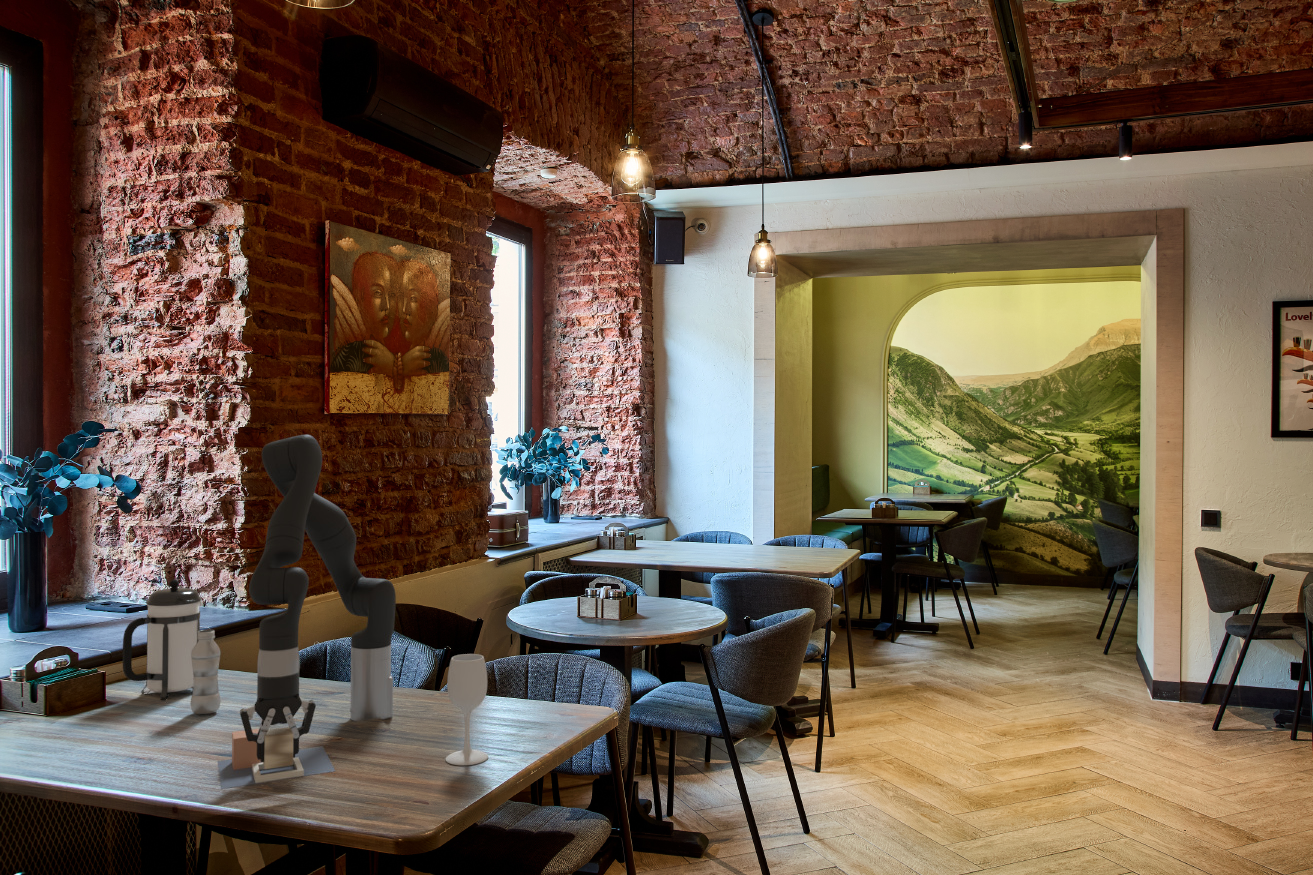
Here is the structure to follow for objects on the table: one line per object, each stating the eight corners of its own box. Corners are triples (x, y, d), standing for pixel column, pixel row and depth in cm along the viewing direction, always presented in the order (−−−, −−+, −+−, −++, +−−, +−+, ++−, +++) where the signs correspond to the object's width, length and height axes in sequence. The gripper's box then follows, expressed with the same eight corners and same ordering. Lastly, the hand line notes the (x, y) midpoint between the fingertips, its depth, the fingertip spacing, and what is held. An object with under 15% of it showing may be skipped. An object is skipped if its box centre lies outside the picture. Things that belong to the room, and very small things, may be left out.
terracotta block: (259, 758, 183) (259, 728, 183) (261, 765, 179) (261, 735, 179) (231, 762, 181) (232, 731, 181) (233, 769, 176) (233, 738, 176)
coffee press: (151, 686, 245) (152, 576, 246) (213, 685, 247) (214, 575, 248) (120, 704, 228) (122, 585, 229) (187, 702, 230) (188, 584, 230)
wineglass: (467, 768, 182) (468, 663, 182) (436, 760, 186) (437, 658, 187) (496, 756, 189) (497, 655, 189) (466, 749, 194) (467, 651, 194)
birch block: (290, 757, 178) (290, 726, 179) (293, 764, 174) (293, 733, 174) (262, 761, 176) (263, 730, 176) (264, 769, 172) (265, 737, 172)
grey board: (322, 753, 191) (322, 741, 191) (335, 778, 176) (335, 765, 176) (217, 768, 181) (217, 756, 181) (221, 796, 166) (221, 783, 166)
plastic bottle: (208, 717, 216) (209, 634, 217) (183, 716, 218) (184, 632, 218) (226, 710, 223) (227, 629, 223) (202, 708, 224) (203, 627, 224)
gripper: (315, 662, 182) (314, 747, 182) (236, 670, 175) (235, 758, 175) (320, 670, 175) (319, 758, 175) (239, 679, 169) (238, 770, 168)
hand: (277, 758), depth 175 cm, fingers closed on birch block, 4 cm apart
